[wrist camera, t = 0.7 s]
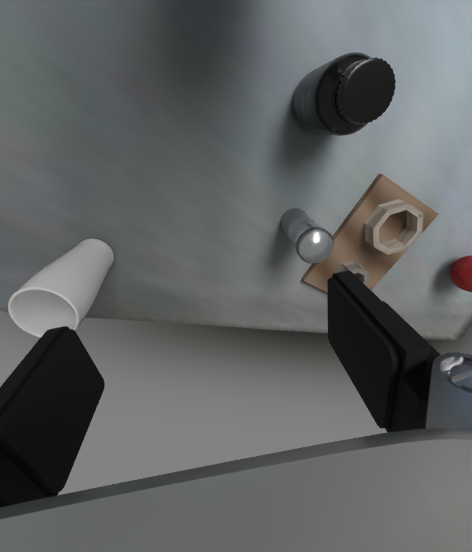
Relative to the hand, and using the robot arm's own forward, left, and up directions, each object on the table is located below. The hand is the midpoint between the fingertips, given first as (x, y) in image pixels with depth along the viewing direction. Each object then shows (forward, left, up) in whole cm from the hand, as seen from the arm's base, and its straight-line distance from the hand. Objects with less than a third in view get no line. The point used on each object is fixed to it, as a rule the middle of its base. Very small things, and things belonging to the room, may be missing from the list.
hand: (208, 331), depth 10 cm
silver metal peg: (-1, +14, -31) cm, 34 cm away
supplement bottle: (-15, +8, -31) cm, 35 cm away
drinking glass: (+17, -10, -31) cm, 37 cm away
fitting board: (-3, +27, -31) cm, 41 cm away
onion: (-8, +44, -31) cm, 54 cm away
